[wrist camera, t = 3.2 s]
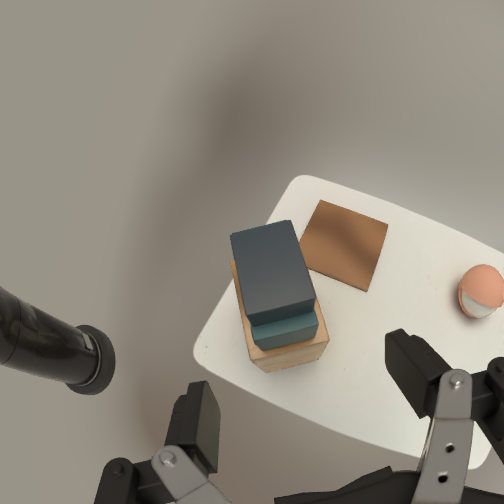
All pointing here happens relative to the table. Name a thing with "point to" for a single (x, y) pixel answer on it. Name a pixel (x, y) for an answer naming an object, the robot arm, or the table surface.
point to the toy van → (274, 285)
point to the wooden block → (286, 353)
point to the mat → (343, 244)
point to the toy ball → (481, 291)
